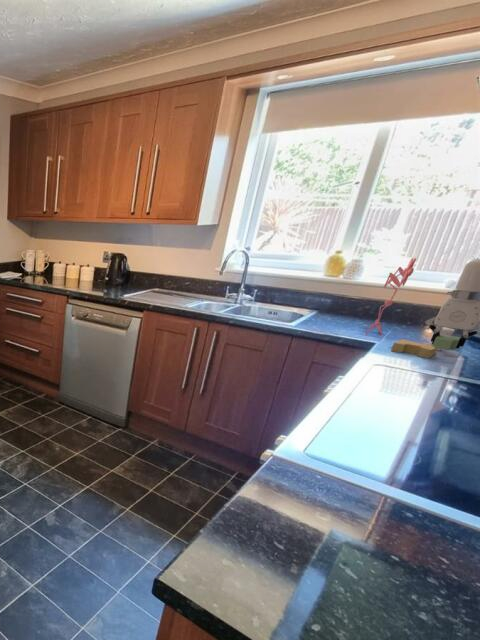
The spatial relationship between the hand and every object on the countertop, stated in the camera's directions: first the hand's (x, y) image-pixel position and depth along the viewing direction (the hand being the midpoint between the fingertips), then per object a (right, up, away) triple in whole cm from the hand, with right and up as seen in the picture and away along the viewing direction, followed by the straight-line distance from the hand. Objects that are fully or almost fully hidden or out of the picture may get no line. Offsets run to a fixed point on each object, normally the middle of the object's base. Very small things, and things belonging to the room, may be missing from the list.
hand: (445, 345), depth 155 cm
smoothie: (+18, -1, +21) cm, 27 cm away
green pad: (-1, -1, 0) cm, 1 cm away
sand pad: (+5, -2, +16) cm, 17 cm away
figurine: (+21, +9, +44) cm, 50 cm away
